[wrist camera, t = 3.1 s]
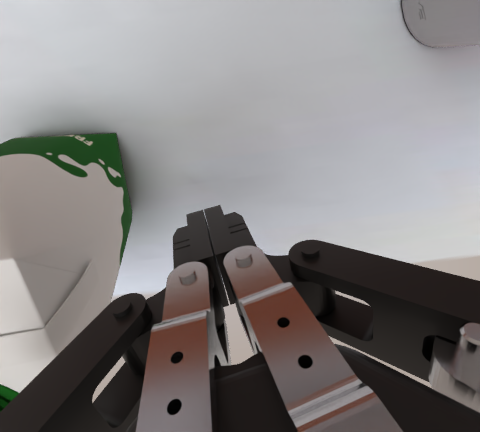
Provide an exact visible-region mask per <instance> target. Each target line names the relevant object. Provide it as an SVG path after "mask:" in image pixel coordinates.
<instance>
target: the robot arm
mask: <svg viewBox="0 0 480 432" xmlns="http://www.w3.org/2000/svg"><path fill="white" fill-rule="evenodd" d="M402 8H403V13H404V18H405V21H406V24H407V26H408V28H409V30H410V32H411V33H412V34H413V36H414V37H415V38H416V39H417V40H418V41H420V42H421V43H423V44H424V45H427V46H430V47H456V46H473V45H480V0H402ZM204 211H205V215H206V219H207V222H206V219H205V215H204V212H203V210H201V211H197V212H194V213H190V214H187V224H188V226H185V227H182V228H178V229H177V230H176V232H175V234H174V235H173V250H174V251H173V260H174V270H173V271H172V272H171V273H170V274H169V276H168V278H167V284H166V288H165V289H163V290H162V291H161V292H159V293H157V294H156V295H154V296H152V297H150V298H148V299H147V300H146V299H145V298H144V296H143V295H141V294H138V293H130V294H126V295H123V296H121V297H119V298H117V299H115V300H114V301H113V302H111V303H110V304H109V305H108V306H107V307H106V308H105V309H104V310H103V311H102V312H101V313H100V314H99V315H98V316H97V317H96V318H95V319H94V320H93V321H92V322H91V323H90V324H89V325H88V326H87V327H86V328H85V329H83V330H82V331H81V332H80V333H79V334H78V335H77V336H76V337H75V338H74V339H73V340H72V341H71V342H70V343H69V344H68V345H67V346H66V347H65V348H64V349H63V350H62V351H61V352H60V353H59V354H58V355H57V356H56V357H55V358H54V359H53V360H52V361H51V362H50V363H49V364H48V365H47V366H46V367H45V368H44V369H43V370H42V371H41V372H40V373H39V374H38V375H37V376H36V377H35V378H34V379H33V380H32V381H31V382H30V383H29V384H28V385H27V386H26V387H25V388H24V389H23V390H22V391H21V392H20V393H19V394H18V395H17V396H16V397H15V398H14V399H13V400H12V401H11V402H10V403H9V404H8V405H7V406H6V407H5V408H4V409H3V410H2V411H1V412H0V432H480V281H477V280H473V279H469V278H465V277H461V276H457V275H453V274H449V273H445V272H441V271H438V270H433V269H429V268H425V267H422V266H418V265H414V264H410V263H406V262H402V261H398V260H394V259H390V258H386V257H382V256H378V255H374V254H370V253H366V252H362V251H358V250H354V249H350V248H346V247H342V246H338V245H334V244H330V243H327V242H323V241H318V240H306V241H302V242H299V243H297V244H295V245H294V246H293V247H292V248H291V249H290V251H289V255H284V256H271V255H267V254H264V253H263V251H262V250H261V249H260V248H258V247H257V246H256V244H255V242H254V240H253V238H252V236H251V234H250V232H249V230H248V228H247V225H246V224H245V221H244V219H243V217H242V216H241V215H239V214H237V213H235V212H233V213H230V214H227V215H224V214H223V212H222V209H221V206H220V205H218V206H214V207H211V208H207V209H204ZM207 224H208V225H207ZM221 275H222V276H221ZM222 278H223V280H222ZM223 282H224V284H223ZM224 285H225V288H226V291H227V295H228V298H229V301H230V304H234V303H236V307H237V310H238V314H239V317H240V320H241V323H242V326H243V328H244V331H245V333H246V336H247V338H248V341H249V344H250V346H251V349H252V352H253V354H254V356H252V357H250V358H249V359H247V360H246V361H244V362H242V363H240V364H237V365H231V358H230V350H229V342H228V334H227V326H226V323H225V314H224V309H223V307H225V306H228V305H229V304H228V300H227V296H226V292H225V288H224ZM335 290H336V291H339V292H341V293H344V294H347V295H350V296H353V297H355V298H358V299H361V300H363V301H365V302H366V303H368V304H369V305H370V306H371V307H370V306H368V305H365V304H362V303H359V302H357V301H354V300H351V299H348V298H345V297H343V296H340V295H337V294H335ZM329 336H330V337H332V338H335V339H337V340H339V341H341V342H343V343H345V344H348V345H350V346H352V347H354V348H356V349H358V350H361V351H363V352H365V353H367V354H369V355H371V356H374V357H376V358H378V359H380V360H383V361H384V362H387V363H389V364H391V365H393V366H395V367H397V368H400V369H402V370H404V371H406V372H408V373H410V374H412V375H415V376H417V377H419V378H421V379H423V380H425V381H428V382H430V384H431V386H432V388H433V389H432V388H430V387H428V386H426V385H424V384H422V383H420V382H417V381H415V380H414V379H412V378H410V377H408V376H406V375H404V374H402V373H400V372H398V371H396V370H394V369H392V368H390V367H388V366H386V365H384V364H382V363H380V362H378V361H376V360H374V359H372V358H370V357H368V356H366V355H364V354H362V353H360V352H358V351H356V350H353V349H351V348H348V347H345V346H341V345H337V344H334V343H333V342H332V341H331V339H330V338H329ZM121 357H123V358H124V360H125V361H126V362H125V363H124V365H123V366H122V367H121V368H120V370H119V371H118V372H117V373H116V375H115V376H114V377H113V378H112V380H111V381H110V382H109V383H108V385H107V386H106V387H105V388H104V390H103V391H102V392H101V393H100V395H99V396H98V397H97V398H96V400H95V401H94V402H93V403H92V397H93V394H94V391H95V389H96V388H97V386H98V385H99V383H100V382H101V381H102V379H104V377H105V376H106V375H107V374H108V372H109V371H110V370H111V369H112V368H113V366H114V365H115V364H116V363H117V362H118V360H119V359H120V358H121Z"/></svg>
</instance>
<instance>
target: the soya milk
mask: <svg viewBox="0 0 480 432" xmlns="http://www.w3.org/2000/svg"><path fill="white" fill-rule="evenodd" d="M131 221H132V209H131V204H130V199H129V194H128V189H127V184H126V179H125V174H124V169H123V165H122V160H121V155H120V150H119V145H118V140H117V135H116V133H108V134H83V135H62V136H42V137H23V138H14V139H11V140H8V141H6V142H4V143H2V144H0V412H1V411H2V410H3V409H4V408H5V407H6V406H7V405H8V404H9V403H10V402H11V401H12V400H13V399H14V398H15V397H16V396H17V395H18V394H19V393H20V392H21V391H22V390H23V389H24V388H25V387H26V386H27V385H28V384H29V383H30V382H31V381H32V380H33V379H34V378H35V377H36V376H37V375H38V374H39V373H40V372H41V371H42V370H43V369H44V368H45V367H46V366H47V365H48V364H49V363H50V362H51V361H52V360H53V359H54V358H55V357H56V356H57V355H58V354H59V353H60V352H61V351H62V350H63V349H64V348H65V347H66V346H67V345H68V344H69V343H70V342H71V341H72V340H73V339H74V338H75V337H76V336H77V335H78V334H79V333H80V332H81V331H82V330H83V329H85V328H86V327H87V326H88V325H89V324H90V323H91V322H92V321H93V320H94V319H95V318H96V317H97V316H98V315H99V314H100V313H101V312H102V311H103V310H104V309H105V308H106V307H107V306H108V305H109V304H110V303H111V299H112V295H113V292H114V288H115V284H116V280H117V276H118V272H119V268H120V265H121V261H122V257H123V253H124V249H125V245H126V241H127V237H128V233H129V229H130V225H131Z"/></svg>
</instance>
